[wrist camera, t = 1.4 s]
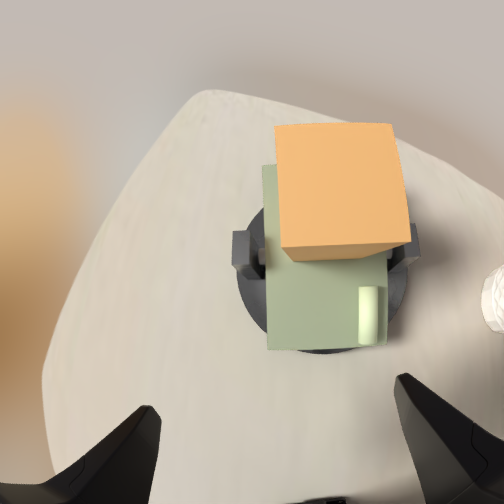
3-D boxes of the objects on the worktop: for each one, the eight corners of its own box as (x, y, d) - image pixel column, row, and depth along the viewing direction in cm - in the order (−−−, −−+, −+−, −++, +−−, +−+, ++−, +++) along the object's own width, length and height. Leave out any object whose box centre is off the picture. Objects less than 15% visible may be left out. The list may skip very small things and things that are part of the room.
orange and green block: (388, 340, 19) (454, 392, 8) (263, 346, 21) (221, 409, 10) (377, 166, 20) (423, 85, 9) (258, 171, 22) (217, 89, 11)
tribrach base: (407, 345, 20) (439, 347, 14) (238, 353, 23) (214, 358, 17) (390, 189, 25) (407, 151, 19) (241, 196, 27) (224, 159, 21)
